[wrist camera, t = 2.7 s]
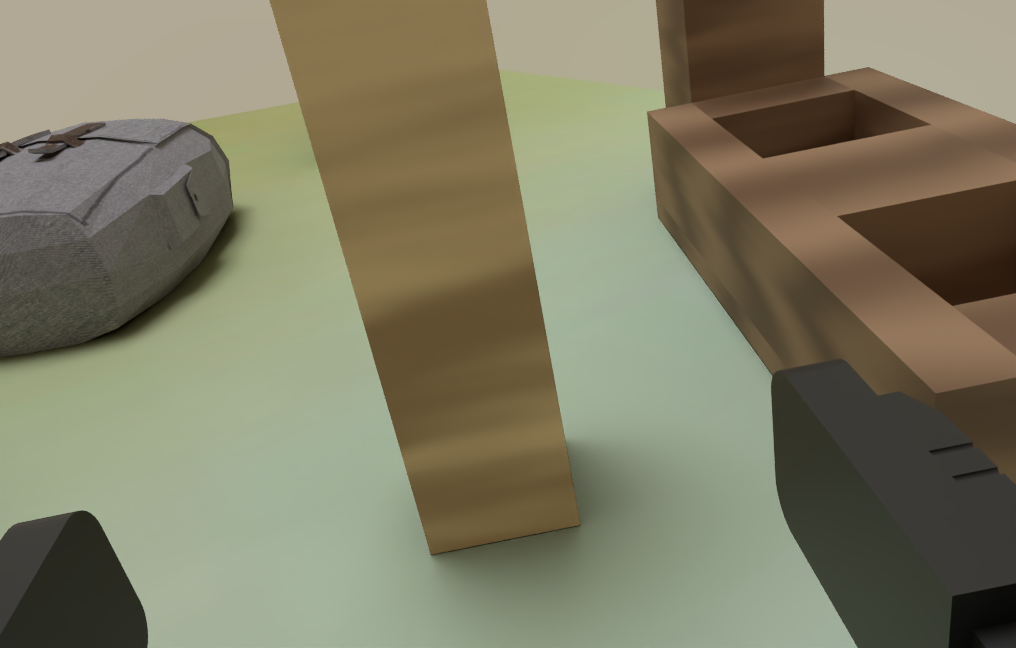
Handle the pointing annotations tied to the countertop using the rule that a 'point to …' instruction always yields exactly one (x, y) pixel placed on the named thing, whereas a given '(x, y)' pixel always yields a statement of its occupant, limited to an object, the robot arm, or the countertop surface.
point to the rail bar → (437, 255)
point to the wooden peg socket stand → (841, 210)
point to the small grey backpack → (102, 225)
